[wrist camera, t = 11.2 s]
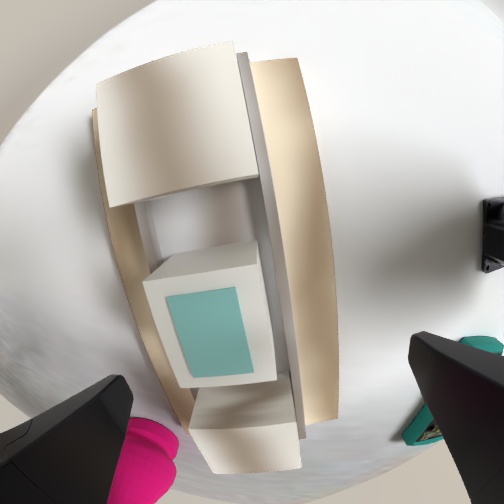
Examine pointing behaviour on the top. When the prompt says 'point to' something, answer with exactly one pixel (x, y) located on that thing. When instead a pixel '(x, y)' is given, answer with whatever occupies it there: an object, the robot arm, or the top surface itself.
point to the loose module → (214, 316)
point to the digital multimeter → (424, 423)
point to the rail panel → (227, 231)
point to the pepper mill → (144, 464)
